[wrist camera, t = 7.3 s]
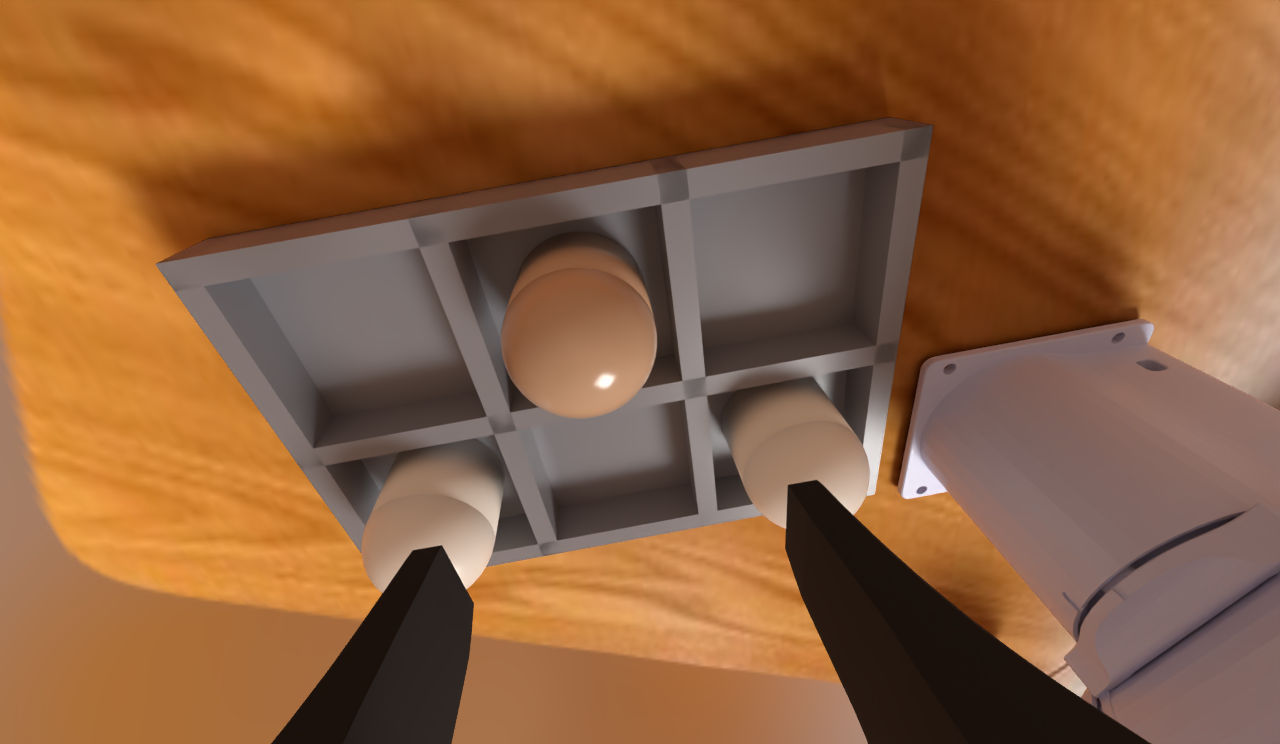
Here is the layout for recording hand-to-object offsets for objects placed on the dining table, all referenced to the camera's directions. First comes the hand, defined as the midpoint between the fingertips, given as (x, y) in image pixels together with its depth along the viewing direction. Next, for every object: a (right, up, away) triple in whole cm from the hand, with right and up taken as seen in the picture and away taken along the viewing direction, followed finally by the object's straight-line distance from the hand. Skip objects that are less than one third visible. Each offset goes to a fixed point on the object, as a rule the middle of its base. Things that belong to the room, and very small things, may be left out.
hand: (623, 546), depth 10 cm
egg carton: (-1, +4, +9) cm, 9 cm away
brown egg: (-2, +6, +6) cm, 9 cm away
